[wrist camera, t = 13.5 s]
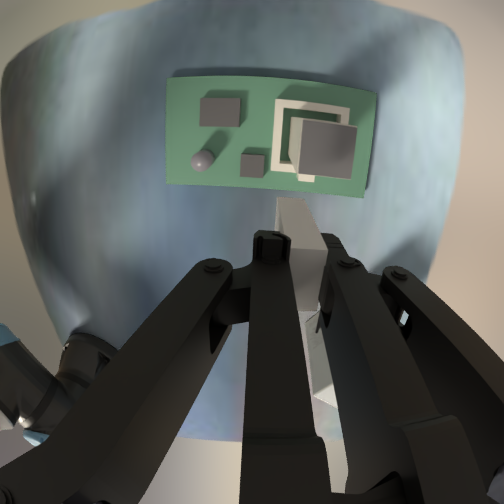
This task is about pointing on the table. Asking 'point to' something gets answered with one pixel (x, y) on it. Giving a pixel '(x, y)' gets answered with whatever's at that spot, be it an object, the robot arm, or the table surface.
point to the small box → (319, 364)
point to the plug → (322, 147)
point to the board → (258, 131)
